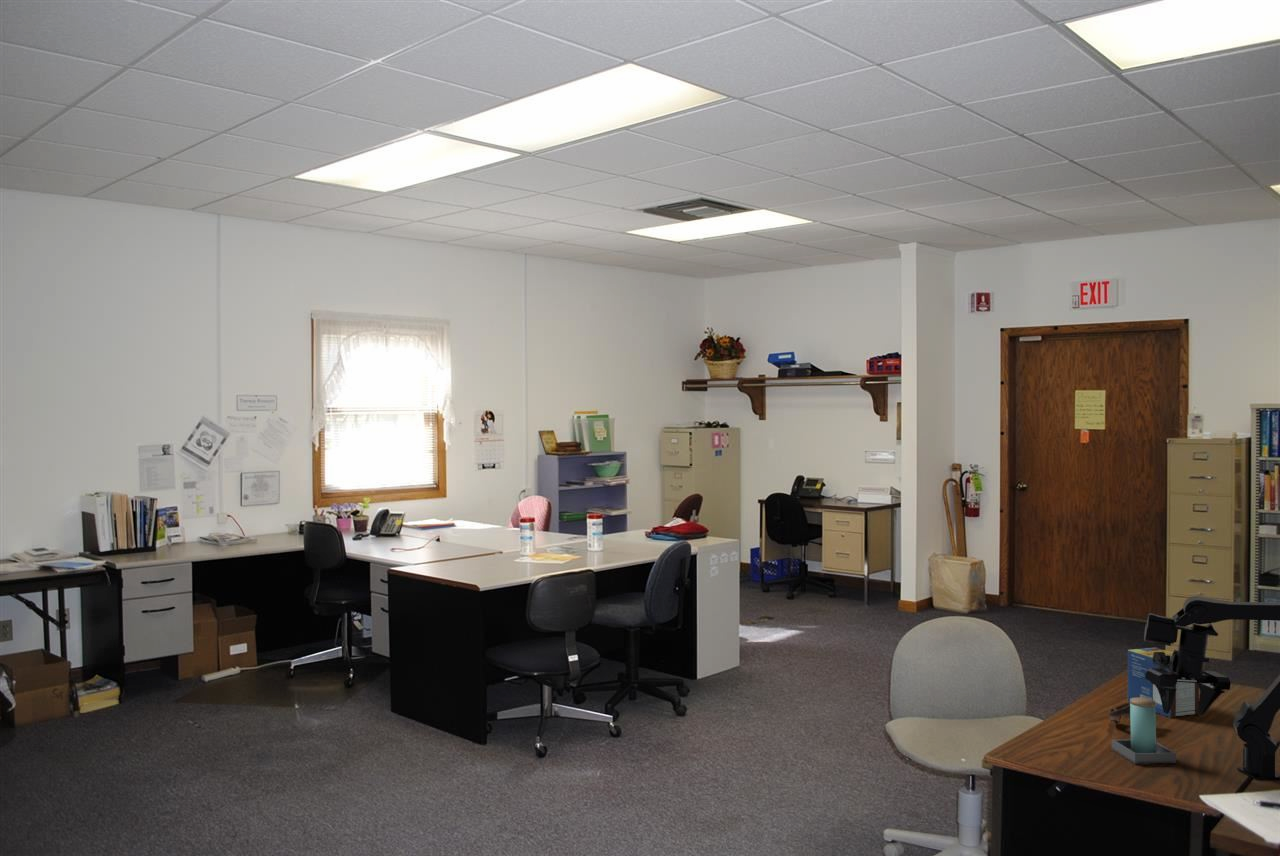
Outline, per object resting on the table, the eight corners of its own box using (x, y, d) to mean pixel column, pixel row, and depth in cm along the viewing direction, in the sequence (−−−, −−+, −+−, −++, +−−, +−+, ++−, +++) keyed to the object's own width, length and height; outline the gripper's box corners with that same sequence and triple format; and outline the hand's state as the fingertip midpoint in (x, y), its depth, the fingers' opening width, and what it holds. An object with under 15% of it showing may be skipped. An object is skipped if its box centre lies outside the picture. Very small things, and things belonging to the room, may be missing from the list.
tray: (1176, 763, 230) (1176, 753, 230) (1135, 764, 230) (1135, 754, 230) (1150, 748, 241) (1151, 738, 240) (1111, 749, 240) (1111, 739, 240)
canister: (1160, 757, 232) (1159, 703, 232) (1137, 757, 233) (1135, 703, 233) (1150, 750, 238) (1149, 697, 238) (1127, 750, 238) (1126, 697, 238)
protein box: (1154, 699, 283) (1155, 646, 283) (1199, 715, 268) (1200, 659, 268) (1126, 702, 280) (1126, 649, 279) (1170, 718, 265) (1170, 662, 265)
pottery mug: (1141, 740, 249) (1123, 709, 251) (1114, 745, 257) (1097, 716, 259) (1169, 721, 254) (1151, 692, 257) (1142, 727, 262) (1125, 698, 265)
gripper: (1202, 642, 238) (1193, 703, 239) (1134, 638, 235) (1126, 700, 236) (1236, 655, 227) (1227, 720, 228) (1165, 651, 224) (1157, 717, 225)
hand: (1183, 713), depth 230 cm, fingers open, 9 cm apart
